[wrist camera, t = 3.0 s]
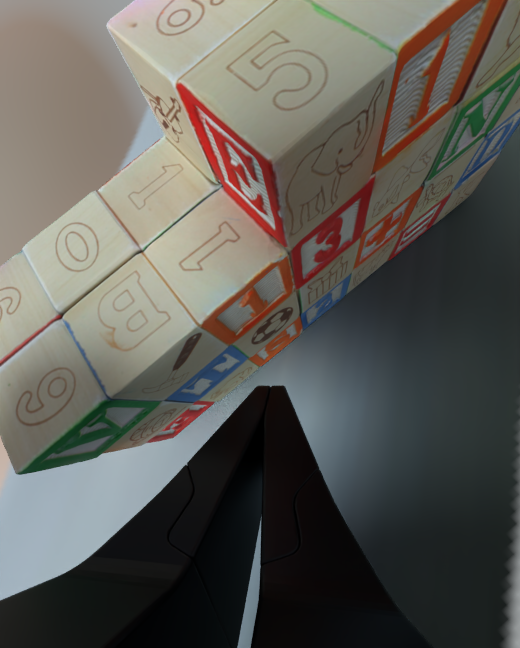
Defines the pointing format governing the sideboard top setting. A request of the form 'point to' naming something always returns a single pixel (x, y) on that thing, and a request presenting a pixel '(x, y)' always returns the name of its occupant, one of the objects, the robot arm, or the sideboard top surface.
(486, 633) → the sideboard top surface
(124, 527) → the robot arm
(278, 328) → the stack of blocks
